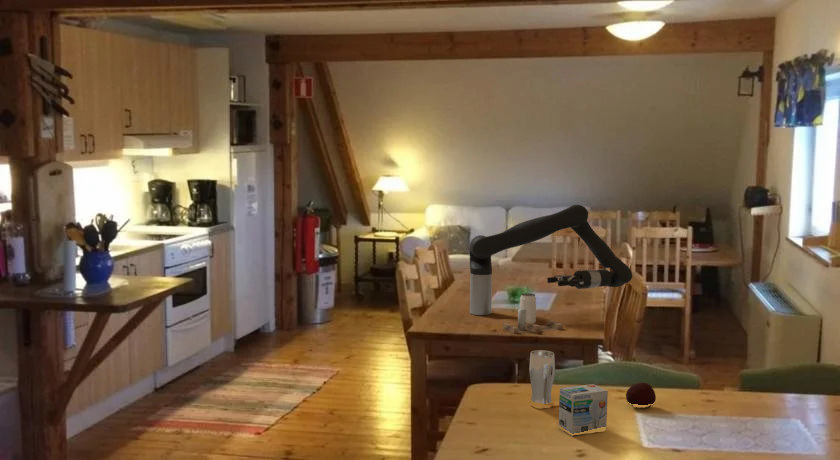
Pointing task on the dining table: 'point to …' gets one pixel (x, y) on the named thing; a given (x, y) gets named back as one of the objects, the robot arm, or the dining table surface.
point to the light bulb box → (582, 408)
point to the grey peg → (522, 319)
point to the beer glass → (541, 375)
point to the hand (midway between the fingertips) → (552, 281)
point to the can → (529, 306)
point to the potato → (641, 394)
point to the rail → (534, 327)
